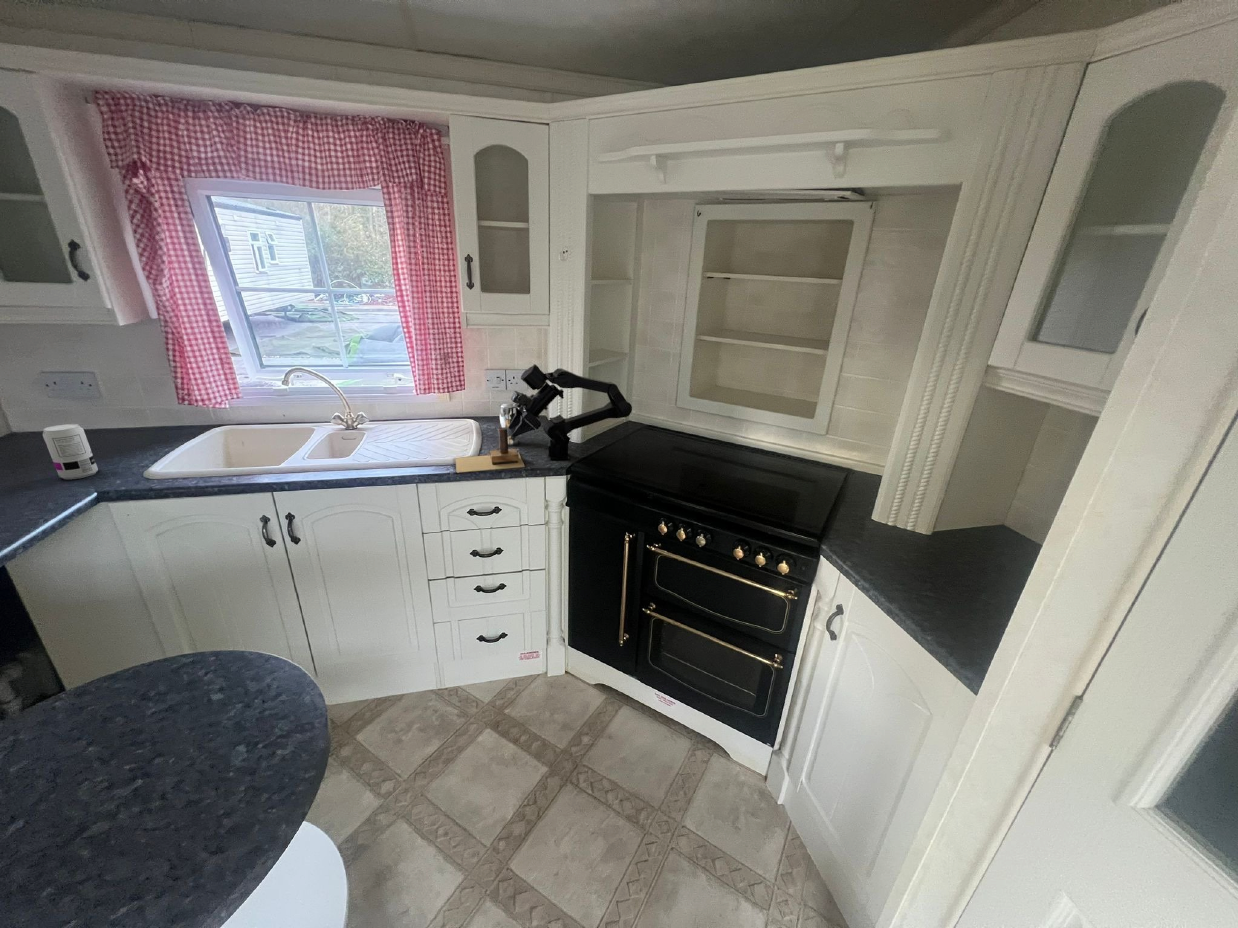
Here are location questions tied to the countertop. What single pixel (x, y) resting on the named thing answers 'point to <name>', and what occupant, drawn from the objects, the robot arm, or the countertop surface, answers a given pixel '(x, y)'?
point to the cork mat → (482, 464)
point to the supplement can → (70, 451)
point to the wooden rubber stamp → (504, 450)
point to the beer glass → (508, 420)
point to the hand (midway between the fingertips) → (511, 432)
